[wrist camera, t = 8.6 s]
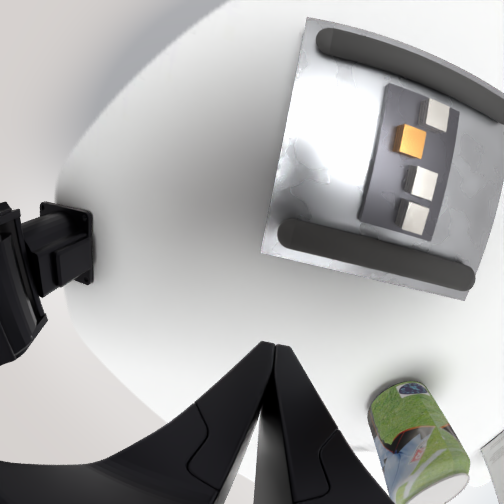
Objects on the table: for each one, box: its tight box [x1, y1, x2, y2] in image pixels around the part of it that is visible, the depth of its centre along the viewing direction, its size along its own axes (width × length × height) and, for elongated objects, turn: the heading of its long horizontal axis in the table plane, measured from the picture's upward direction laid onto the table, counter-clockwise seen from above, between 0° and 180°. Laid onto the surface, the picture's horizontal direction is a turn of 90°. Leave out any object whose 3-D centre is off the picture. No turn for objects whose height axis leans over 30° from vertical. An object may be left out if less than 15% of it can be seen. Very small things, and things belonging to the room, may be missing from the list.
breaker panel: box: [260, 17, 504, 301], centre depth 14 cm, size 14×14×4 cm
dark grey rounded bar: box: [316, 28, 504, 125], centre depth 11 cm, size 13×2×2 cm, turn 79°
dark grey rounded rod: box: [277, 219, 475, 291], centre depth 15 cm, size 13×2×2 cm, turn 79°
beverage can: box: [367, 381, 470, 504], centre depth 16 cm, size 6×7×12 cm
